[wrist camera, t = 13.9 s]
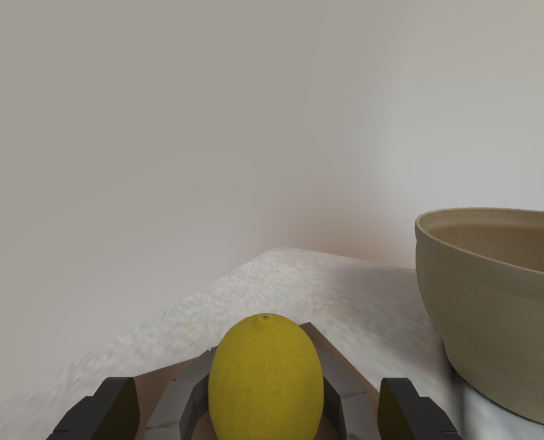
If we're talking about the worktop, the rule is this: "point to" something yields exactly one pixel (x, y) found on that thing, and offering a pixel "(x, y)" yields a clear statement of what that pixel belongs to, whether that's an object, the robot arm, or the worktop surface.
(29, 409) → the worktop surface
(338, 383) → the stand
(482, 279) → the planter bowl
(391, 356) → the worktop surface
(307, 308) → the worktop surface
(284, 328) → the lemon
